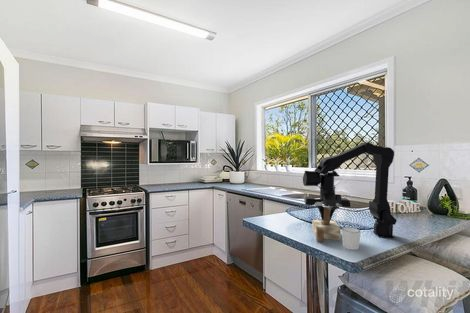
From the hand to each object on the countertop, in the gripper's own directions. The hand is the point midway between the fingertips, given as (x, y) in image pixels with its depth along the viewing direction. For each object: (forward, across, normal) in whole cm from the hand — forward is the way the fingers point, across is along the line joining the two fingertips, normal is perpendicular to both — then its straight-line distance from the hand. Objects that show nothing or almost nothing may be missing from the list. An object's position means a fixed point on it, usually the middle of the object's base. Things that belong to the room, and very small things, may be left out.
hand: (326, 220), depth 109 cm
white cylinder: (+7, +7, -12) cm, 15 cm away
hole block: (+6, 0, 0) cm, 6 cm away
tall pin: (+4, 0, 0) cm, 4 cm away
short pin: (+6, -4, -8) cm, 11 cm away
